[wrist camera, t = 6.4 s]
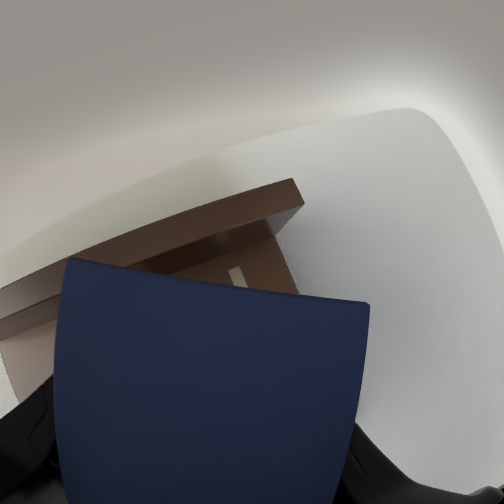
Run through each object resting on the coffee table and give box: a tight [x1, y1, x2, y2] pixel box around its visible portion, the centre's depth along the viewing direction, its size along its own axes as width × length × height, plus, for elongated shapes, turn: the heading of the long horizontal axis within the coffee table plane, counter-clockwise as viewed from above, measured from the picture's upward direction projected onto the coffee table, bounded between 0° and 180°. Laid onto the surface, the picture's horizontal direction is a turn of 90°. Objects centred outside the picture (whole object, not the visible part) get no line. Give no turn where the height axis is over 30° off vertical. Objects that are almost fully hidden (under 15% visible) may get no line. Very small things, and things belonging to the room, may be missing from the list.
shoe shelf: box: [0, 178, 305, 404], centre depth 10 cm, size 14×18×6 cm
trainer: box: [53, 257, 370, 504], centre depth 7 cm, size 10×5×10 cm, turn 173°
